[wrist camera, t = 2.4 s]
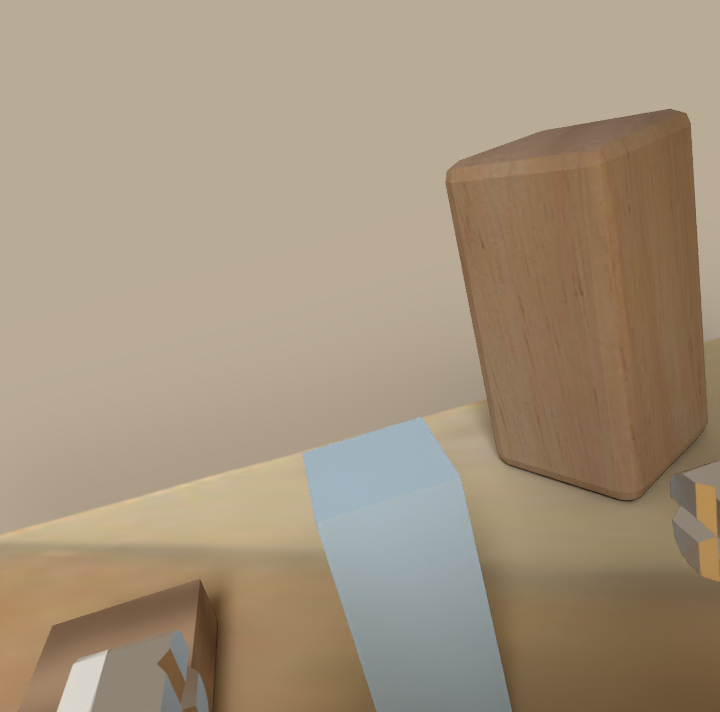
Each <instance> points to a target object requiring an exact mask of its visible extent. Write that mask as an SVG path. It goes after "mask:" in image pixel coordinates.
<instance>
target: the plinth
mask: <svg viewBox="0 0 720 712" xmlns="http://www.w3.org/2000/svg"><path fill="white" fill-rule="evenodd" d="M217 625H218V621H217V619H216V616H215V614H214V611H213V609H212V607H211V604H210V602H209V599H208V597H207V594H206V592H205V590H204V587H203V585H202V582H201V580H200V579H198V580H195V581H192V582H189V583H186V584H183V585H179V586H176V587H173V588H170V589H167V590H164V591H161V592H157V593H154V594H151V595H148V596H145V597H142V598H139V599H135V600H132V601H129V602H126V603H123V604H120V605H117V606H113V607H110V608H107V609H104V610H101V611H98V612H95V613H91V614H88V615H85V616H82V617H79V618H76V619H72V620H69V621H66V622H63V623H60V624H57V625H54V626H52V628H51V631H50V633H49V636H48V638H47V641H46V643H45V646H44V648H43V651H42V653H41V656H40V658H39V661H38V663H37V666H36V668H35V671H34V673H33V676H32V678H31V681H30V683H29V686H28V688H27V691H26V693H25V696H24V698H23V701H22V703H21V706H20V708H19V711H18V712H57V709H58V706H59V703H60V700H61V697H62V694H63V691H64V688H65V686H66V683H67V680H68V677H69V674H70V671H71V668H72V666H73V664H74V663H75V662H76V661H77V660H78V659H79V658H82V657H85V656H89V655H92V654H95V653H98V652H102V651H105V650H110V649H112V648H114V647H118V646H121V645H125V644H128V643H132V642H135V641H139V640H142V639H145V638H149V637H152V636H156V635H159V634H163V633H166V632H170V631H173V630H177V631H179V632H181V633H182V635H183V637H184V639H185V642H186V644H187V646H188V648H189V655H188V664H187V666H189V667H191V668H193V669H195V670H197V671H198V672H199V674H200V677H201V679H202V682H203V684H204V688H205V692H206V695H207V699H208V708H209V712H213V695H214V678H215V660H216V642H217Z"/></svg>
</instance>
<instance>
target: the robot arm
mask: <svg viewBox="0 0 720 712" xmlns="http://www.w3.org/2000/svg"><path fill="white" fill-rule="evenodd" d="M670 492H671V498H672V499H674V500H675V501H676V502H677V503H678V504H679V505H680V507H679V509H678V511H677V513H676V515H675V517H674V518H673V528H674V536H675V539H676V542H677V544H678V546H679V549H680V551H681V553H682V555H683V556H684V558H685V559H686V561H687V562H688V563H689V565H690V566H691V567H692V568H693V569H694V570H695V571H696V572H697V573H698V574H699V575H700V576H702V577H706V578H709V579H712V580H715V581H718V582H720V460H718V461H715V462H711V463H708V464H705V465H702V466H699V467H696V468H693V469H689V470H686V471H683V472H680V473H677V474H674V475H673V476H672V479H671V482H670ZM188 655H189V648H188V646H187V644H186V642H185V639H184V637H183V635H182V633H181V632H179V631H177V630H173V631H170V632H166V633H163V634H159V635H156V636H152V637H149V638H145V639H142V640H139V641H135V642H132V643H128V644H125V645H121V646H118V647H114V648H112V649H110V650H105V651H102V652H98V653H95V654H92V655H89V656H85V657H82V658H79V659H78V660H77V661H76V662H75V663H74V664H73V666H72V668H71V671H70V674H69V677H68V680H67V683H66V686H65V688H64V691H63V694H62V697H61V700H60V703H59V706H58V709H57V712H209V708H208V699H207V695H206V692H205V688H204V684H203V682H202V679H201V677H200V674H199V672H198V671H197V670H195V669H193V668H191V667H189V666H187V664H188Z"/></svg>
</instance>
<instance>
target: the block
mask: <svg viewBox="0 0 720 712" xmlns="http://www.w3.org/2000/svg"><path fill="white" fill-rule="evenodd" d="M446 188H447V193H448V198H449V202H450V208H451V214H452V219H453V224H454V229H455V234H456V240H457V244H458V250H459V255H460V260H461V265H462V271H463V275H464V280H465V286H466V291H467V297H468V302H469V307H470V312H471V317H472V322H473V328H474V333H475V338H476V343H477V348H478V354H479V359H480V364H481V369H482V374H483V379H484V385H485V390H486V395H487V400H488V406H489V411H490V416H491V421H492V426H493V432H494V437H495V442H496V447H497V452H498V454H499V456H500V457H501V459H502V460H503V461H505V462H506V463H507V464H509V465H513V466H516V467H519V468H522V469H525V470H528V471H532V472H535V473H538V474H541V475H544V476H547V477H551V478H554V479H557V480H560V481H563V482H566V483H569V484H573V485H576V486H579V487H582V488H585V489H588V490H592V491H595V492H598V493H601V494H604V495H607V496H611V497H614V498H617V499H620V500H633V499H636V498H639V497H641V495H642V494H643V493H644V492H645V491H646V490H647V489H648V488H649V487H650V486H651V485H652V484H653V483H654V482H655V481H656V480H657V479H658V478H659V477H660V476H661V475H662V474H663V473H664V472H665V471H666V470H667V468H668V467H669V466H670V465H671V464H672V463H673V462H674V461H675V460H676V459H677V458H678V457H679V456H680V455H681V454H682V453H683V452H684V451H685V450H686V449H687V448H688V447H689V446H690V445H691V444H692V443H693V441H694V440H695V439H696V438H697V437H698V436H699V435H700V434H701V433H702V432H703V431H704V429H705V427H706V425H707V423H708V414H707V397H706V380H705V363H704V345H703V328H702V312H701V294H700V277H699V260H698V243H697V225H696V208H695V191H694V174H693V157H692V139H691V123H690V121H689V118H688V116H687V114H686V113H684V112H680V111H676V110H672V109H667V110H661V111H655V112H649V113H643V114H638V115H632V116H626V117H621V118H615V119H608V120H603V121H597V122H591V123H585V124H580V125H573V126H568V127H562V128H556V129H550V130H545V131H541V132H538V133H535V134H532V135H530V136H527V137H524V138H521V139H518V140H516V141H513V142H510V143H507V144H505V145H502V146H499V147H496V148H493V149H490V150H488V151H485V152H482V153H479V154H477V155H474V156H471V157H468V158H465V159H462V160H460V161H458V162H457V163H456V164H455V165H453V166H452V167H451V168H450V169H449V170H448V171H447V174H446Z"/></svg>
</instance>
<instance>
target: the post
mask: <svg viewBox="0 0 720 712" xmlns="http://www.w3.org/2000/svg"><path fill="white" fill-rule="evenodd" d="M303 459H304V464H305V469H306V475H307V480H308V485H309V491H310V496H311V502H312V507H313V512H314V518H315V523H316V526H317V529H318V532H319V535H320V538H321V541H322V545H323V548H324V551H325V554H326V557H327V560H328V563H329V566H330V569H331V572H332V576H333V579H334V582H335V585H336V588H337V591H338V594H339V597H340V600H341V603H342V607H343V610H344V613H345V616H346V619H347V622H348V625H349V628H350V631H351V634H352V638H353V641H354V644H355V647H356V650H357V653H358V656H359V659H360V662H361V665H362V668H363V672H364V675H365V678H366V681H367V684H368V687H369V690H370V693H371V696H372V699H373V703H374V706H375V709H376V712H512V708H511V704H510V699H509V694H508V690H507V685H506V681H505V676H504V672H503V667H502V663H501V658H500V654H499V649H498V644H497V640H496V635H495V631H494V626H493V622H492V617H491V613H490V608H489V604H488V599H487V594H486V590H485V585H484V581H483V576H482V572H481V567H480V563H479V558H478V554H477V549H476V544H475V540H474V535H473V531H472V526H471V522H470V517H469V513H468V508H467V504H466V499H465V494H464V490H463V485H462V481H461V477H460V475H459V474H458V472H457V471H456V469H455V468H454V466H453V464H452V463H451V461H450V460H449V458H448V457H447V455H446V454H445V452H444V451H443V449H442V448H441V446H440V444H439V443H438V441H437V440H436V438H435V437H434V435H433V434H432V432H431V431H430V429H429V428H428V426H427V424H426V423H425V421H424V420H423V418H422V417H419V418H416V419H412V420H409V421H406V422H403V423H399V424H396V425H393V426H390V427H386V428H383V429H380V430H376V431H373V432H370V433H367V434H363V435H360V436H357V437H354V438H350V439H347V440H344V441H341V442H337V443H334V444H331V445H327V446H324V447H321V448H318V449H314V450H311V451H308V452H305V453H303Z"/></svg>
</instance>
